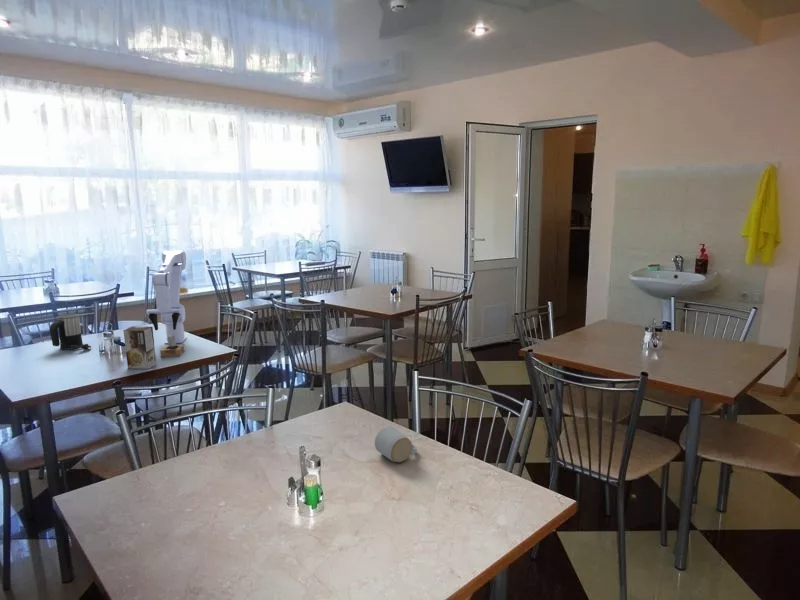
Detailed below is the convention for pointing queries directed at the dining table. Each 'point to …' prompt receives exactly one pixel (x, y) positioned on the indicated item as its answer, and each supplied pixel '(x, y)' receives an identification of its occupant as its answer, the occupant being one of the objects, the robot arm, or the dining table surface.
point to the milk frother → (67, 332)
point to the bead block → (172, 351)
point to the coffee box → (139, 347)
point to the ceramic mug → (394, 444)
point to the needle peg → (171, 342)
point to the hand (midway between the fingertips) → (165, 329)
